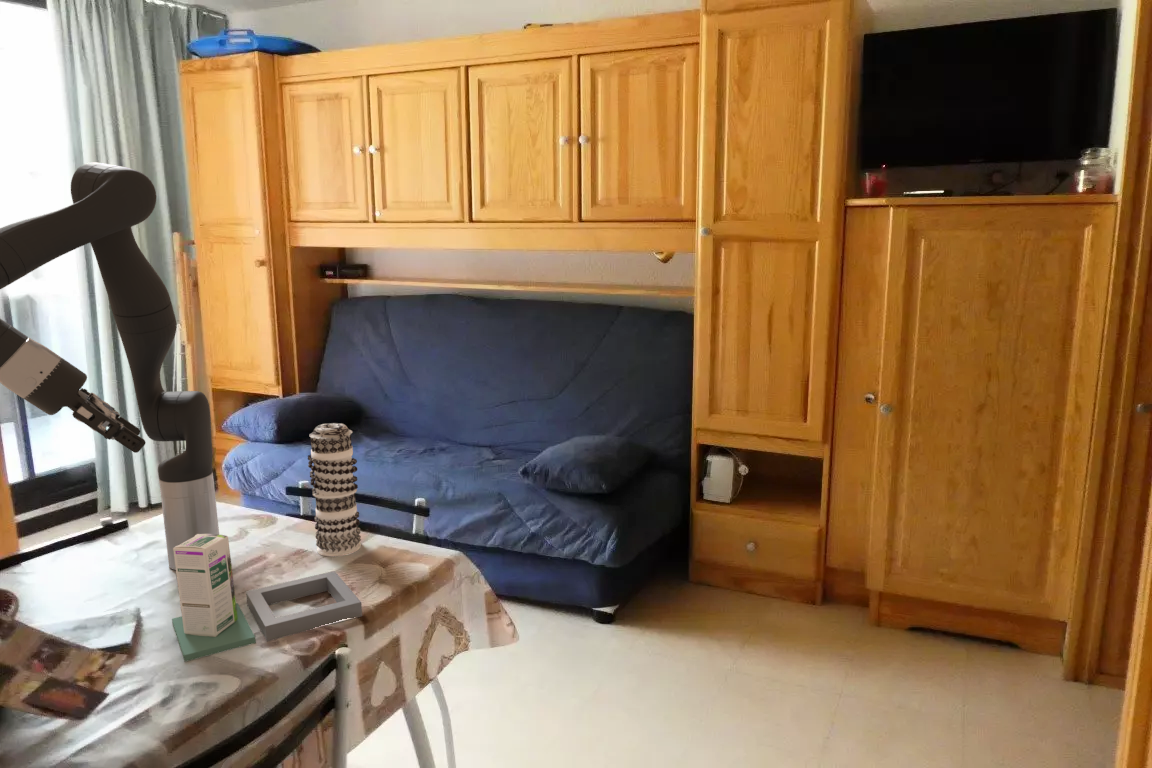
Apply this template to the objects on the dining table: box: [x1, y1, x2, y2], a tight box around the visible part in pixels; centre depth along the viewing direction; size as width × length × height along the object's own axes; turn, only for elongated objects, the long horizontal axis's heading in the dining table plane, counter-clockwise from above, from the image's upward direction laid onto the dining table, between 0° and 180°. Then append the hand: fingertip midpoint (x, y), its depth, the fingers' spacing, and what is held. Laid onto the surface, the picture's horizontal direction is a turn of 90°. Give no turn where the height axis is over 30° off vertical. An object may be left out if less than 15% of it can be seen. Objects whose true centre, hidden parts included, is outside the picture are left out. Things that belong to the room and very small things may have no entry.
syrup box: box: [173, 533, 238, 637], centre depth 128 cm, size 6×6×14 cm
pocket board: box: [245, 570, 363, 642], centre depth 137 cm, size 15×15×2 cm
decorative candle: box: [307, 422, 362, 557], centre depth 162 cm, size 9×9×25 cm
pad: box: [171, 602, 256, 662], centre depth 130 cm, size 14×10×1 cm
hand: (139, 441), depth 126 cm, fingers open, 8 cm apart
